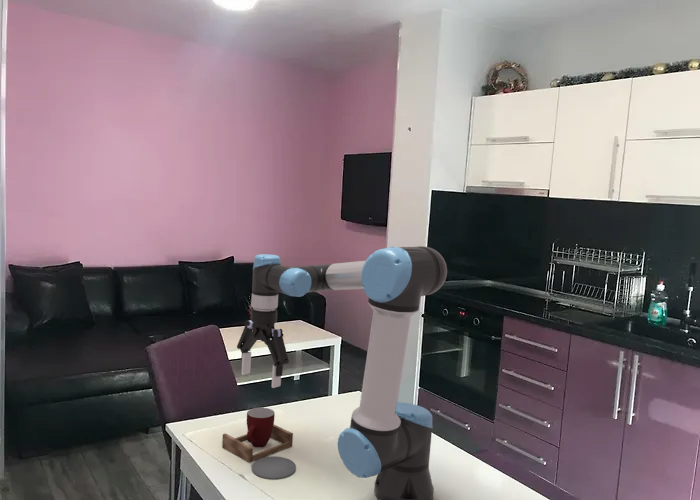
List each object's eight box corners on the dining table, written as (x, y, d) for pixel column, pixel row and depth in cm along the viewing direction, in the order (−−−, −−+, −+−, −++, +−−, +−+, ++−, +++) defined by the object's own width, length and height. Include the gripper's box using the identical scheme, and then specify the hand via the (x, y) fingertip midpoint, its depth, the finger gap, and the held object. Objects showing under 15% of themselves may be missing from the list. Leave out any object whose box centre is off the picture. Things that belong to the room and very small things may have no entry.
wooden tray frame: (292, 446, 170) (292, 433, 170) (249, 463, 158) (250, 449, 158) (264, 432, 178) (265, 420, 178) (222, 447, 166) (222, 434, 166)
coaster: (305, 469, 156) (305, 467, 156) (271, 484, 147) (271, 482, 147) (275, 454, 164) (276, 452, 164) (242, 467, 155) (242, 465, 155)
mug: (263, 457, 162) (265, 423, 161) (237, 452, 164) (238, 418, 163) (277, 442, 172) (278, 409, 171) (252, 437, 174) (253, 405, 173)
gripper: (304, 315, 159) (299, 389, 161) (247, 299, 175) (243, 366, 177) (283, 318, 153) (279, 395, 155) (227, 301, 169) (223, 371, 172)
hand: (260, 380), depth 166 cm, fingers open, 13 cm apart
